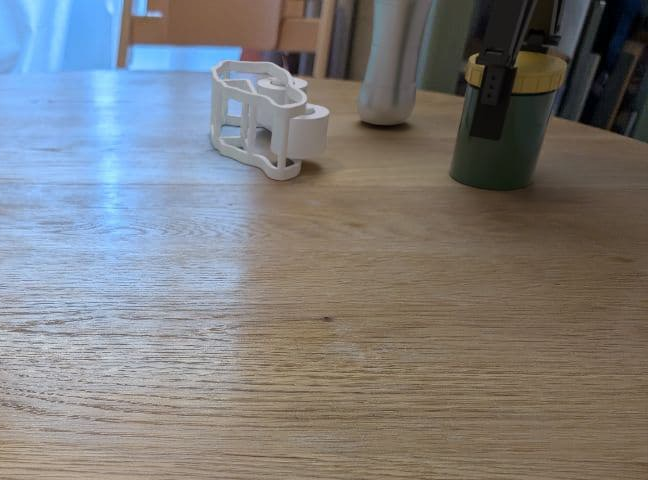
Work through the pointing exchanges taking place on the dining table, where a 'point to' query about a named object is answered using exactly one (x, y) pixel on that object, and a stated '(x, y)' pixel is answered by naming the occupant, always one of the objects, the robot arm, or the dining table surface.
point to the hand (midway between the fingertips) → (500, 125)
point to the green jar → (502, 143)
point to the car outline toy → (267, 117)
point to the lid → (527, 72)
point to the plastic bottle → (393, 61)
